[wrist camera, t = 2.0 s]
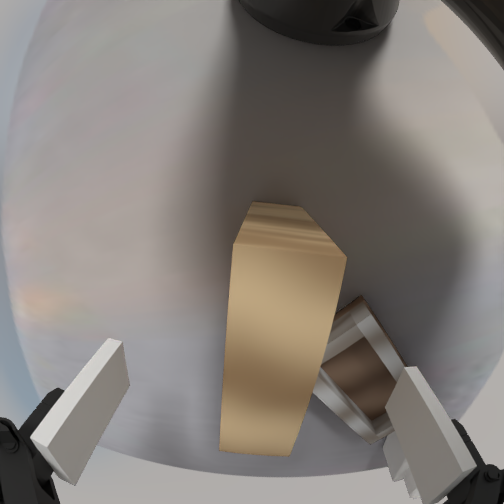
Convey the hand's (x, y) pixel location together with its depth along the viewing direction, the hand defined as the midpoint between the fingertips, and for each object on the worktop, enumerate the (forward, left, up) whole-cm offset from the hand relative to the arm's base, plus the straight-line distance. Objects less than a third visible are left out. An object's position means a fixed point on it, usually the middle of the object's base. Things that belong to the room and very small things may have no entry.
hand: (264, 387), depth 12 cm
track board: (+6, +15, -14) cm, 21 cm away
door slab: (0, 0, -14) cm, 14 cm away
